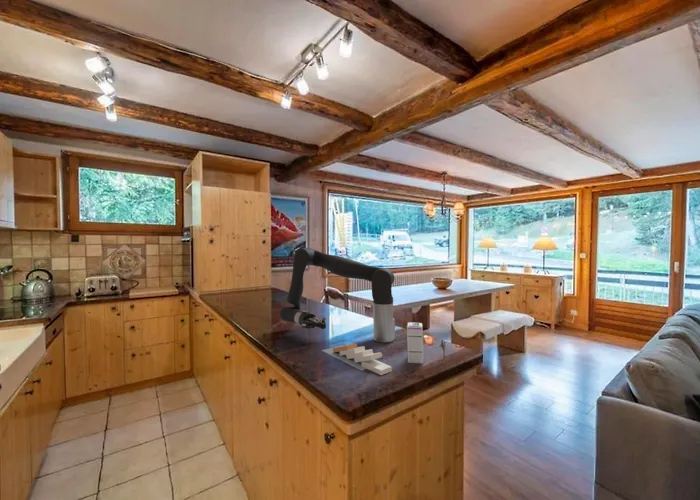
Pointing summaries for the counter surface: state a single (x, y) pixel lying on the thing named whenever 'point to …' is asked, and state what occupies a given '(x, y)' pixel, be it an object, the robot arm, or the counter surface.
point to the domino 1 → (345, 347)
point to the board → (344, 358)
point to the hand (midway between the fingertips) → (324, 326)
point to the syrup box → (415, 342)
